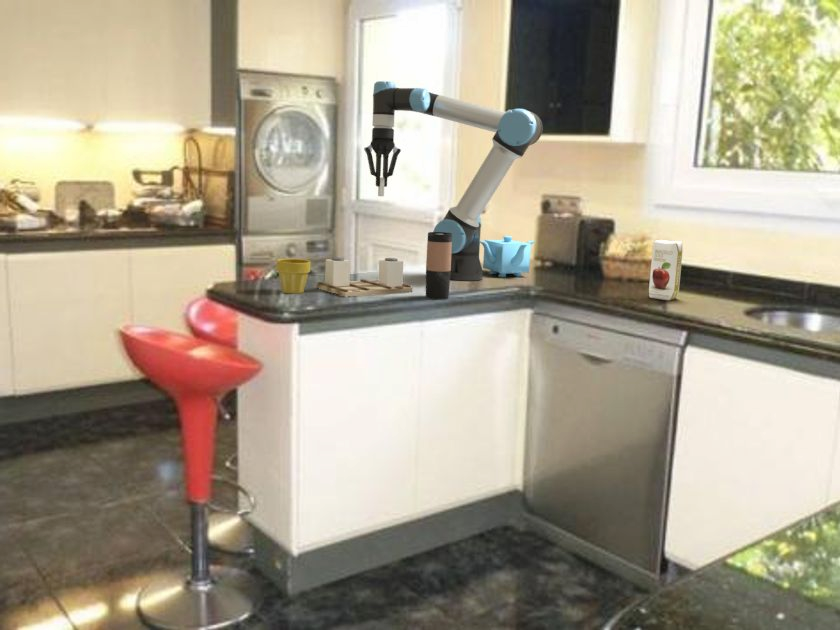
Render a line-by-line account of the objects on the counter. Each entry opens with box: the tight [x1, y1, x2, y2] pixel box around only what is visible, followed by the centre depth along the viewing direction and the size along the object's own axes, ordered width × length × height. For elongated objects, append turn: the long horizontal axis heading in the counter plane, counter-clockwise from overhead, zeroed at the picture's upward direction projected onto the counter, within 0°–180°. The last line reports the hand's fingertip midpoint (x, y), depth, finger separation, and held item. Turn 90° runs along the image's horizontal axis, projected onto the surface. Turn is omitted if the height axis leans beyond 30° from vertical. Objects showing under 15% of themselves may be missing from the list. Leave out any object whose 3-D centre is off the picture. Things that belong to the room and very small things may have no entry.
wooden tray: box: [315, 278, 414, 298], centre depth 267 cm, size 18×25×2 cm
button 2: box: [377, 257, 404, 287], centre depth 269 cm, size 5×6×9 cm
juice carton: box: [648, 239, 684, 301], centre depth 275 cm, size 8×9×19 cm
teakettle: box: [480, 235, 537, 278], centre depth 314 cm, size 19×19×15 cm
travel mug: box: [425, 231, 452, 300], centre depth 258 cm, size 8×8×20 cm
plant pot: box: [276, 258, 311, 294], centre depth 258 cm, size 10×10×10 cm
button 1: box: [324, 256, 351, 287], centre depth 264 cm, size 5×6×9 cm
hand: (380, 196), depth 295 cm, fingers closed
